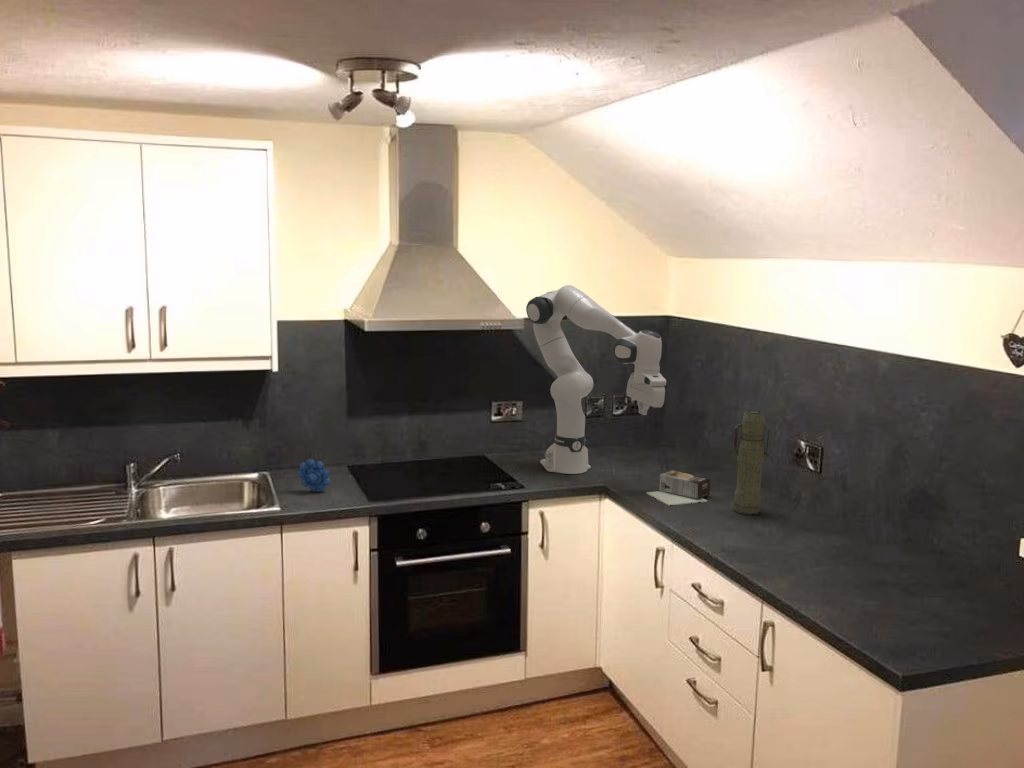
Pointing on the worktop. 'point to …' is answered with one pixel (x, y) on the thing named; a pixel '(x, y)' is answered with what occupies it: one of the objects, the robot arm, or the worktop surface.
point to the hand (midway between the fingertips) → (642, 414)
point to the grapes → (314, 475)
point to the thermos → (750, 461)
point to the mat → (673, 498)
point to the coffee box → (685, 484)
